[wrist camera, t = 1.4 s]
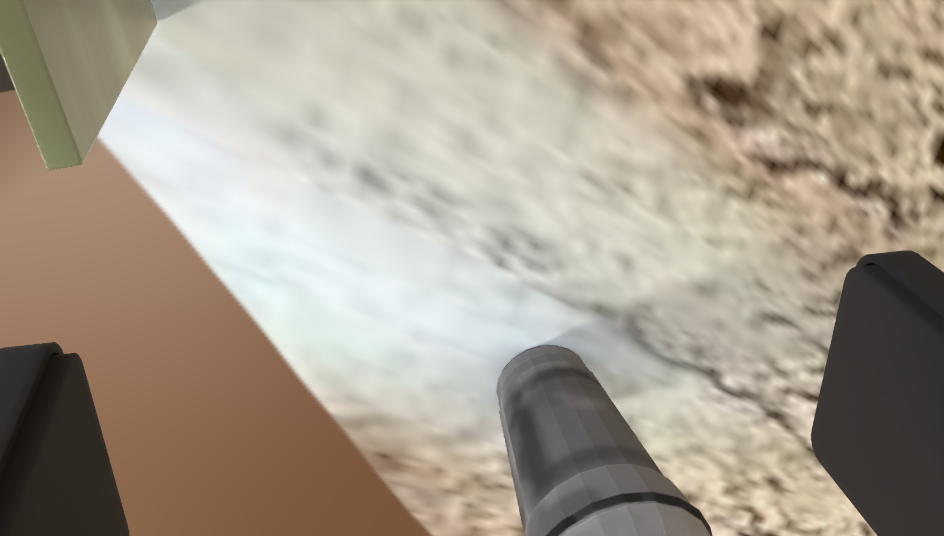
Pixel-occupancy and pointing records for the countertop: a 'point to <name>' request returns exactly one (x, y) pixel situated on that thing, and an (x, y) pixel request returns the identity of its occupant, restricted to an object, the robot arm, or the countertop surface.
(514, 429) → the beverage cup
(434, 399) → the countertop surface
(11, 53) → the cupboard door
